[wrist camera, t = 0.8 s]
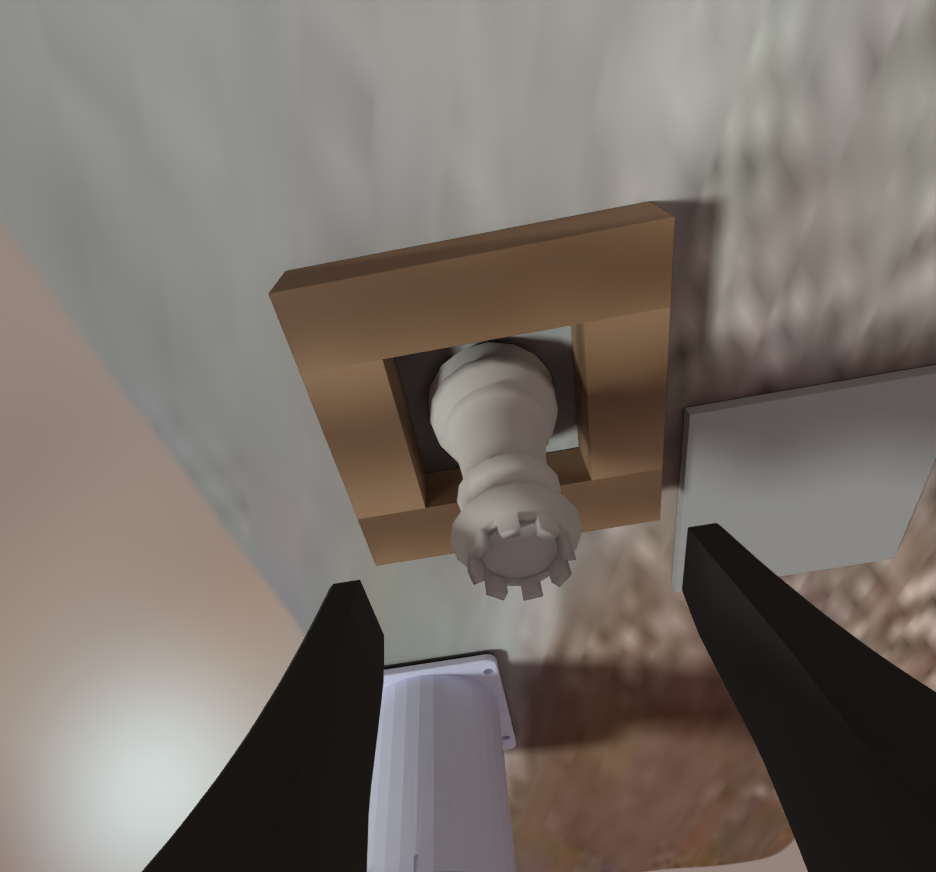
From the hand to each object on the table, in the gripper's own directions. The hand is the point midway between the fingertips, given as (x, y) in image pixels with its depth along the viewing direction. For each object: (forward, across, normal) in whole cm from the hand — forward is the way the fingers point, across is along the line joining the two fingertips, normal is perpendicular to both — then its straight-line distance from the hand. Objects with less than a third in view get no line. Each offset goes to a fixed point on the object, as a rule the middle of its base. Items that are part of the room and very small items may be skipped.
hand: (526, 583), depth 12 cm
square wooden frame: (+9, 0, 0) cm, 9 cm away
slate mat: (+8, -12, +7) cm, 16 cm away
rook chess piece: (+9, 0, 0) cm, 9 cm away
